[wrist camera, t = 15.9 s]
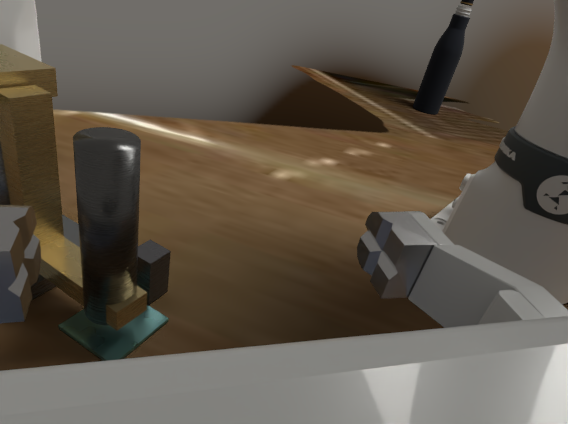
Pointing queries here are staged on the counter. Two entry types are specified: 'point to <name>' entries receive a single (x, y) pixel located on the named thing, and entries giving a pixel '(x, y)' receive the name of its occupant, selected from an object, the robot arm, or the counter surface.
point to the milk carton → (20, 27)
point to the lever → (90, 194)
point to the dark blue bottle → (443, 62)
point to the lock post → (149, 278)
